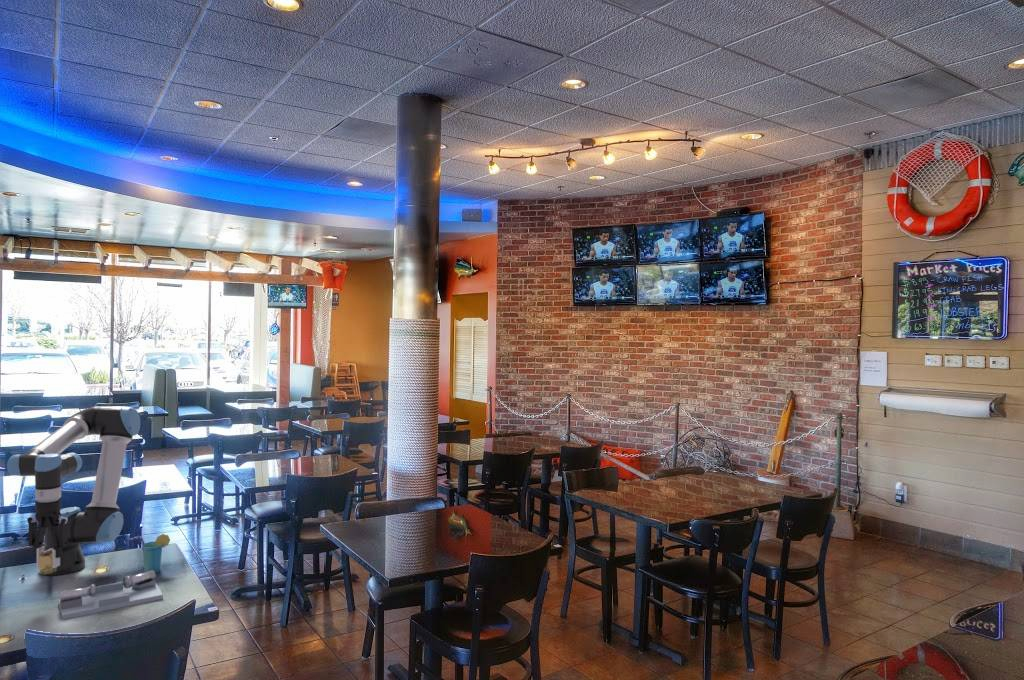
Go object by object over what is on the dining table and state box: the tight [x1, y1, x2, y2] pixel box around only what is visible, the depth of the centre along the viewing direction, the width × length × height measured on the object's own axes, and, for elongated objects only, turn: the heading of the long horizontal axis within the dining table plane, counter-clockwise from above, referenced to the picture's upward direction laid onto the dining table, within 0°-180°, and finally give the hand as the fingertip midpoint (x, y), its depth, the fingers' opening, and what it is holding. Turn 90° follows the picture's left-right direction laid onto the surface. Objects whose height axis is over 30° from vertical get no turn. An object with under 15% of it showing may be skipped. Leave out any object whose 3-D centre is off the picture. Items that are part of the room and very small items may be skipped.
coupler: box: [38, 548, 56, 575], centre depth 241 cm, size 5×5×7 cm
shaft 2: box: [122, 570, 157, 591], centre depth 252 cm, size 5×10×6 cm, turn 147°
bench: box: [57, 581, 164, 620], centre depth 243 cm, size 15×30×4 cm, turn 127°
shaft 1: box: [59, 583, 96, 602], centre depth 237 cm, size 4×10×4 cm, turn 127°
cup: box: [129, 533, 171, 573], centre depth 271 cm, size 14×8×15 cm, turn 129°
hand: (48, 566), depth 241 cm, fingers closed on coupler, 5 cm apart
